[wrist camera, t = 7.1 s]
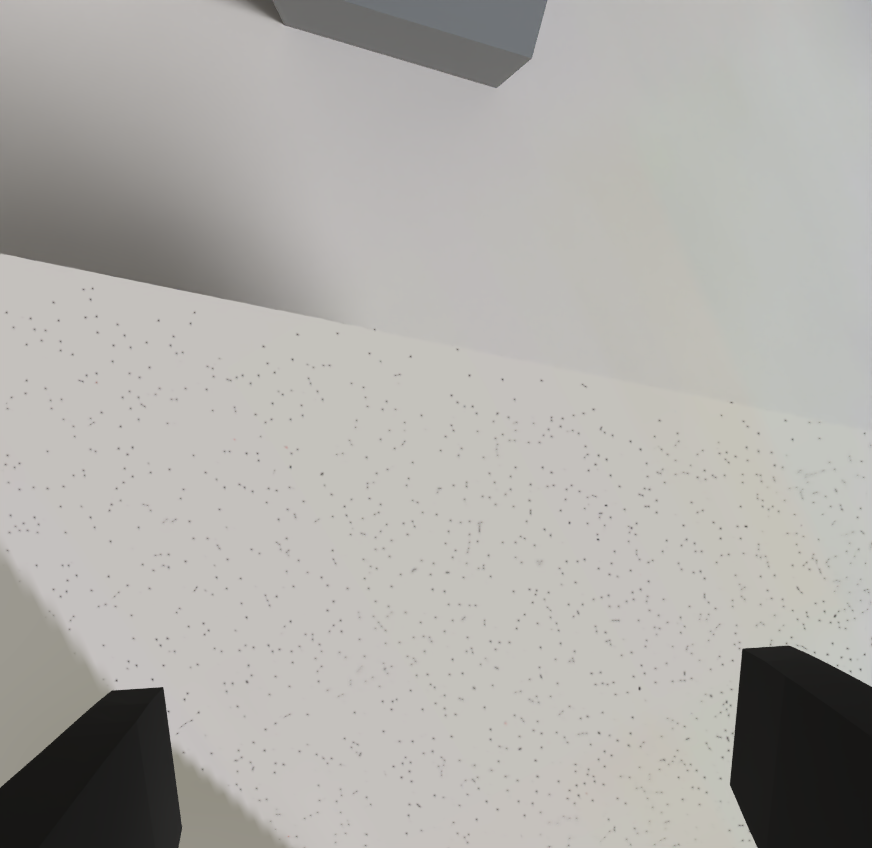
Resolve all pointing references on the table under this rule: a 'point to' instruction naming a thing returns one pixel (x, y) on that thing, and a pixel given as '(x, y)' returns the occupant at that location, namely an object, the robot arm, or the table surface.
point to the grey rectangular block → (430, 31)
